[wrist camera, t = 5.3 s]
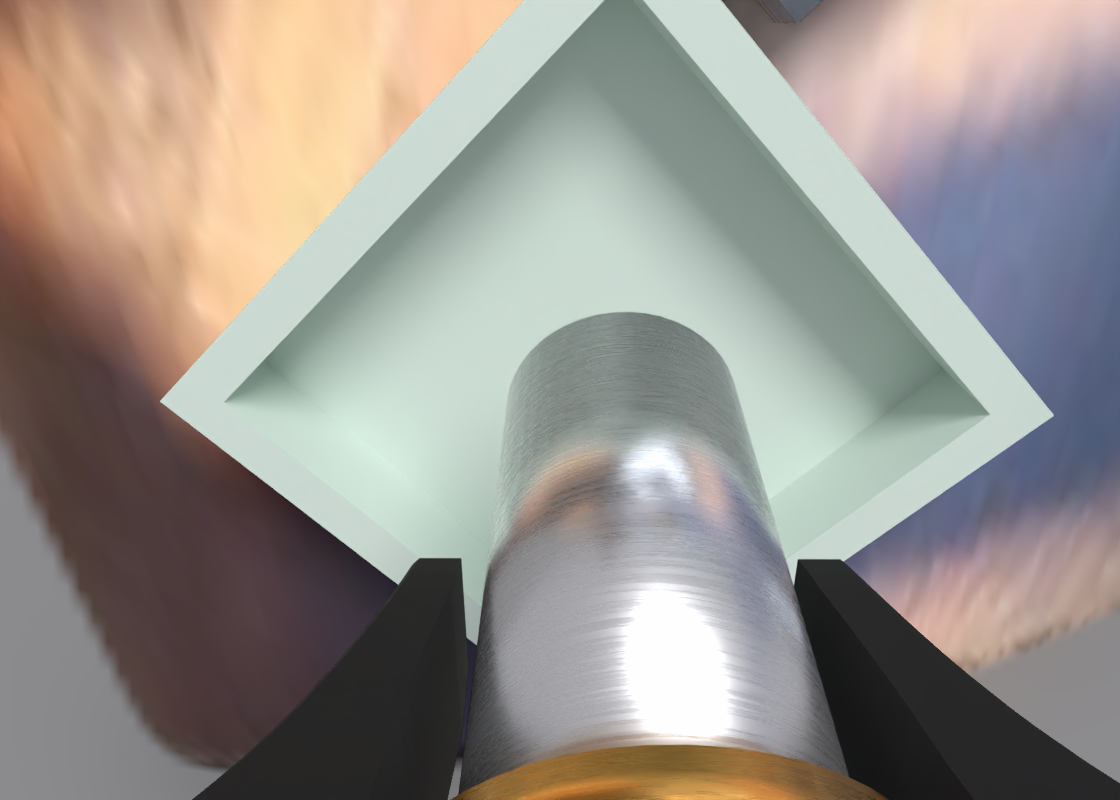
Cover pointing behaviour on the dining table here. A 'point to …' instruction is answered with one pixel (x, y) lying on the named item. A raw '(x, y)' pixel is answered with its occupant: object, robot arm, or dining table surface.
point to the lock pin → (640, 590)
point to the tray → (605, 294)
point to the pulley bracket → (788, 9)
